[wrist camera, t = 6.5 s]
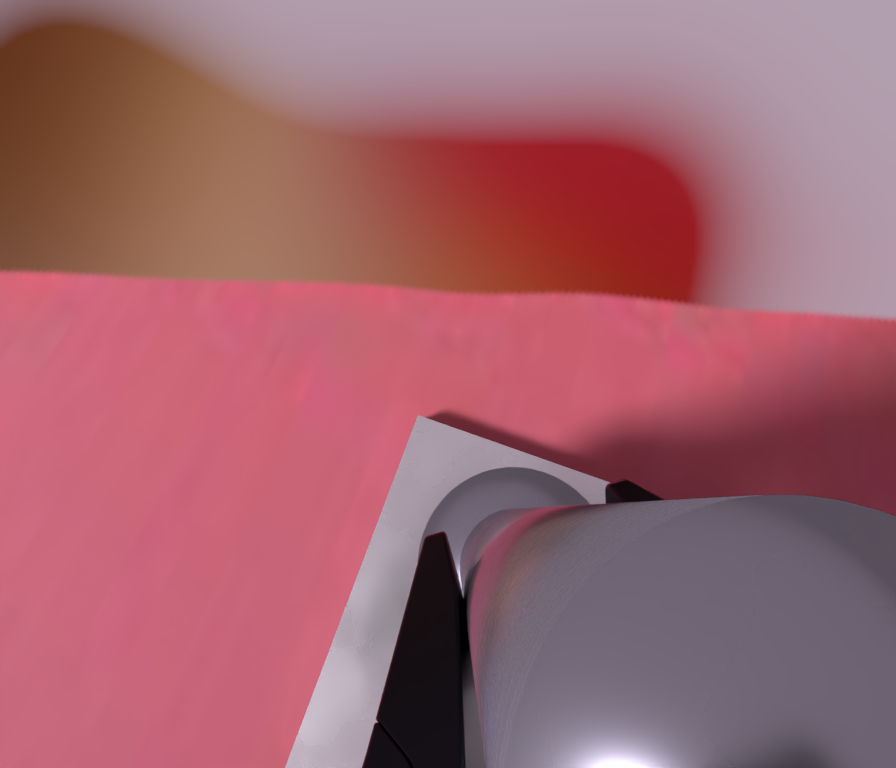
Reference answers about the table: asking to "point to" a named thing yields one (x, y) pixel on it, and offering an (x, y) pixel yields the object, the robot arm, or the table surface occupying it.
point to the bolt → (675, 627)
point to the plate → (397, 586)
